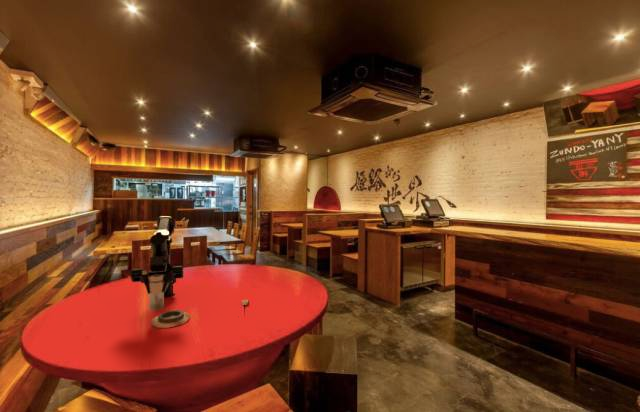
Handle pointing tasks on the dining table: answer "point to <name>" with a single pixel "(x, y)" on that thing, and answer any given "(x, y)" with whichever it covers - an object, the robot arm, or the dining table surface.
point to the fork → (245, 302)
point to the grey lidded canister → (156, 292)
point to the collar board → (160, 325)
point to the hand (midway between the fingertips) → (156, 292)
